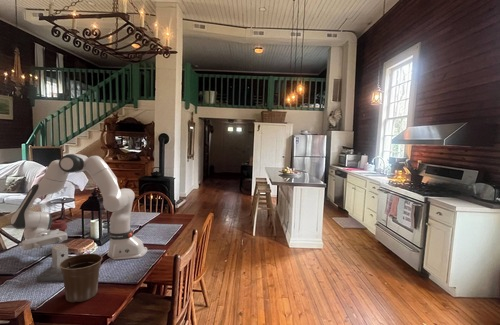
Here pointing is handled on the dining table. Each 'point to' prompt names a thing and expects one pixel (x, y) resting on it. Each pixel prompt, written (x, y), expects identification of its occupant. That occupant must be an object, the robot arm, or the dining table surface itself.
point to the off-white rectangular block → (58, 256)
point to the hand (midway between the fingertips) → (50, 243)
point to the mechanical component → (59, 225)
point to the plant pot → (81, 276)
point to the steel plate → (50, 276)
